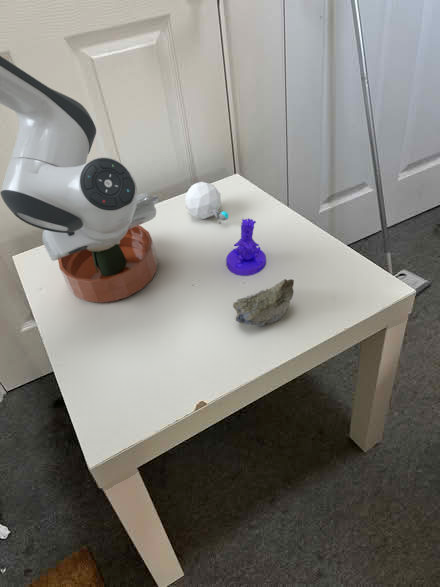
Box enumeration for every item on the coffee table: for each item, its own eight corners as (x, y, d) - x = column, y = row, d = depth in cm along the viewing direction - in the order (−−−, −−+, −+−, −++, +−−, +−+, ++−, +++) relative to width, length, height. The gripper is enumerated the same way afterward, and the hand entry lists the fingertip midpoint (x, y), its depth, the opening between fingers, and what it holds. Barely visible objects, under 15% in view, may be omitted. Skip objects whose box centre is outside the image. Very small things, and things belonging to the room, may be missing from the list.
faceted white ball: (208, 184, 107) (246, 206, 101) (189, 214, 107) (225, 238, 102) (192, 169, 100) (231, 192, 94) (171, 201, 101) (209, 226, 95)
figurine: (269, 275, 89) (274, 233, 82) (229, 278, 88) (230, 236, 81) (260, 250, 94) (264, 209, 87) (223, 253, 93) (223, 212, 86)
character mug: (81, 268, 93) (59, 215, 84) (107, 249, 97) (88, 196, 88) (117, 287, 88) (97, 232, 79) (143, 266, 91) (127, 211, 82)
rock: (274, 281, 84) (297, 272, 74) (288, 311, 84) (313, 306, 74) (221, 306, 81) (237, 300, 71) (235, 337, 81) (253, 335, 71)
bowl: (75, 316, 85) (64, 293, 81) (64, 260, 98) (53, 238, 94) (168, 285, 88) (162, 261, 84) (145, 235, 101) (139, 212, 97)
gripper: (152, 177, 77) (142, 202, 91) (33, 223, 71) (41, 242, 84) (168, 210, 78) (156, 230, 91) (52, 259, 71) (57, 273, 84)
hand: (100, 236), depth 87 cm, fingers closed on character mug, 7 cm apart
